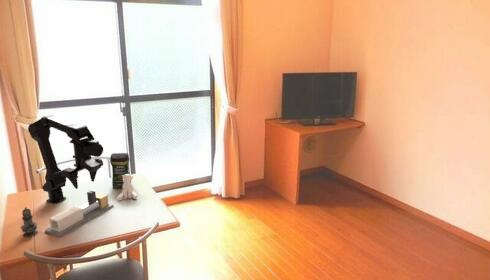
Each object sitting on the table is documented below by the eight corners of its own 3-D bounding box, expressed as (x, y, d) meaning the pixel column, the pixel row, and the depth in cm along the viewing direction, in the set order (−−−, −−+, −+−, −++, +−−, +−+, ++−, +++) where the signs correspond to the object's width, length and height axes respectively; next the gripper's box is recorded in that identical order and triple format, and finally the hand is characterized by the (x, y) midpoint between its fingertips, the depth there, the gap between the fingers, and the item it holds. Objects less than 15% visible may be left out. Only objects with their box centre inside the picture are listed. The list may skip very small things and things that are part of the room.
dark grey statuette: (26, 230, 145) (21, 204, 142) (41, 229, 146) (36, 203, 142) (19, 237, 140) (13, 210, 136) (34, 237, 140) (29, 210, 137)
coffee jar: (111, 189, 185) (107, 156, 179) (114, 183, 192) (111, 151, 187) (130, 188, 186) (127, 155, 181) (132, 182, 193) (129, 150, 188)
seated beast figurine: (117, 201, 171) (114, 178, 168) (119, 193, 180) (116, 172, 176) (137, 199, 174) (135, 177, 170) (138, 192, 182) (136, 170, 178)
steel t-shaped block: (70, 218, 151) (67, 201, 149) (100, 202, 166) (98, 186, 164) (75, 219, 150) (72, 202, 148) (105, 203, 165) (103, 187, 162)
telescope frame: (44, 232, 144) (42, 219, 142) (99, 203, 169) (97, 191, 168) (60, 237, 140) (58, 223, 139) (113, 206, 166) (112, 195, 164)
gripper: (76, 162, 145) (80, 196, 150) (110, 150, 162) (113, 181, 166) (58, 158, 150) (62, 191, 154) (92, 146, 166) (95, 176, 171)
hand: (84, 184), depth 161 cm, fingers open, 9 cm apart
